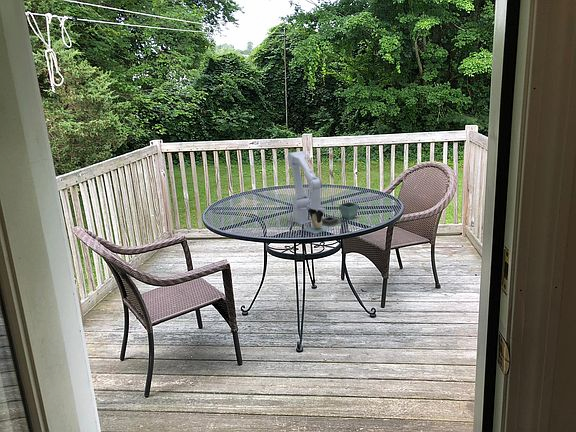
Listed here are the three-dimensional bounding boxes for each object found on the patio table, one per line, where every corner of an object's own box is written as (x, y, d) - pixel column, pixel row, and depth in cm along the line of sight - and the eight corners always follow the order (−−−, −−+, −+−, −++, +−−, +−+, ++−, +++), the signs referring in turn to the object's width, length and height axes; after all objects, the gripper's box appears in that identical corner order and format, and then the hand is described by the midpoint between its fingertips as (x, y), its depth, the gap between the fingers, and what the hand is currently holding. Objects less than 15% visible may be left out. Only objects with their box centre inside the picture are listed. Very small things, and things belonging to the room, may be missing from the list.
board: (302, 230, 273) (302, 229, 273) (317, 225, 280) (317, 224, 280) (315, 234, 264) (315, 233, 264) (331, 229, 271) (331, 228, 271)
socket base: (311, 222, 286) (311, 219, 285) (330, 217, 295) (330, 213, 295) (328, 228, 274) (328, 224, 273) (347, 221, 283) (347, 218, 282)
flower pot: (348, 221, 285) (348, 207, 282) (339, 218, 291) (338, 204, 289) (358, 218, 289) (358, 204, 287) (349, 215, 296) (349, 202, 294)
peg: (312, 226, 272) (312, 213, 270) (317, 225, 275) (317, 212, 272) (317, 228, 269) (316, 215, 267) (322, 226, 272) (322, 213, 269)
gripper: (329, 200, 264) (329, 222, 267) (312, 196, 275) (313, 217, 278) (320, 202, 259) (320, 225, 263) (303, 198, 271) (304, 220, 274)
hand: (316, 221), depth 271 cm, fingers closed on peg, 4 cm apart
